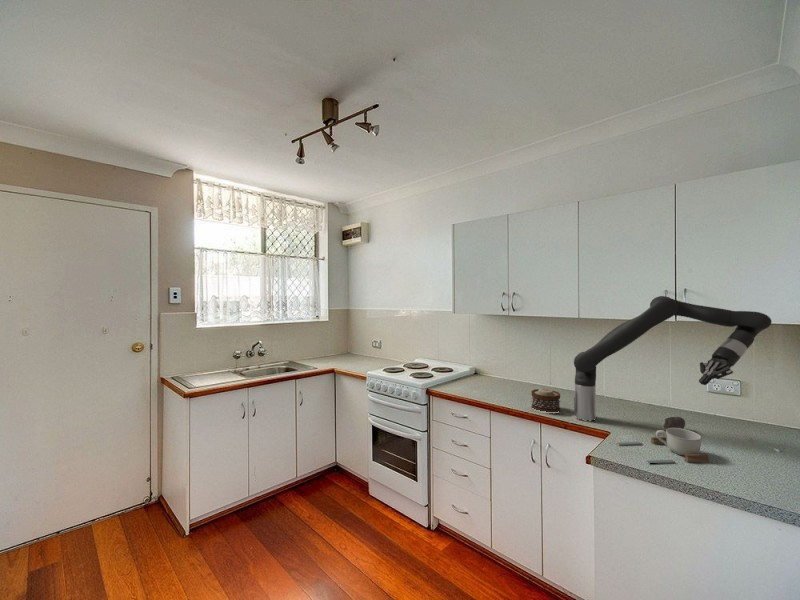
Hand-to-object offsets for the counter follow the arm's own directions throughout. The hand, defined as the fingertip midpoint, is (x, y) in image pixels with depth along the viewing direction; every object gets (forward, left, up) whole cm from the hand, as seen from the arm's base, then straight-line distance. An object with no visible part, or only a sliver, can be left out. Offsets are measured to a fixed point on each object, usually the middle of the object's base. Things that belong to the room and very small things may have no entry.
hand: (701, 383), depth 143 cm
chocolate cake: (-50, -41, -26) cm, 70 cm away
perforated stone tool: (-15, +2, -26) cm, 30 cm away
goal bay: (+4, -28, -26) cm, 38 cm away
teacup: (+4, -14, -26) cm, 30 cm away
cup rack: (+4, -14, -26) cm, 29 cm away
